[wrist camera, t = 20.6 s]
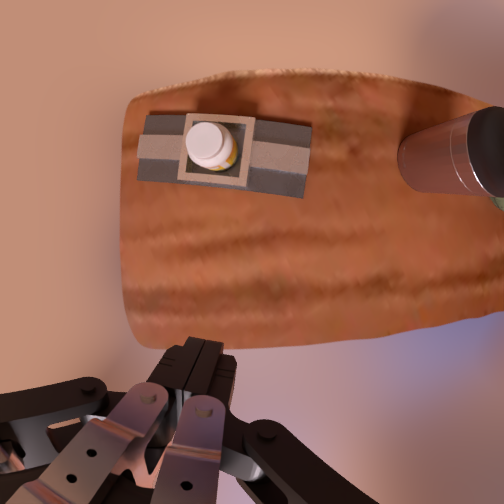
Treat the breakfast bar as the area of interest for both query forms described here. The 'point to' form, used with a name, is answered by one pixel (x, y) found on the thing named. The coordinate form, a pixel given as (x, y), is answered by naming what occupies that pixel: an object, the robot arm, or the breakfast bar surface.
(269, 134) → the rail collar
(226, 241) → the breakfast bar surface
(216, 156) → the supplement bottle
